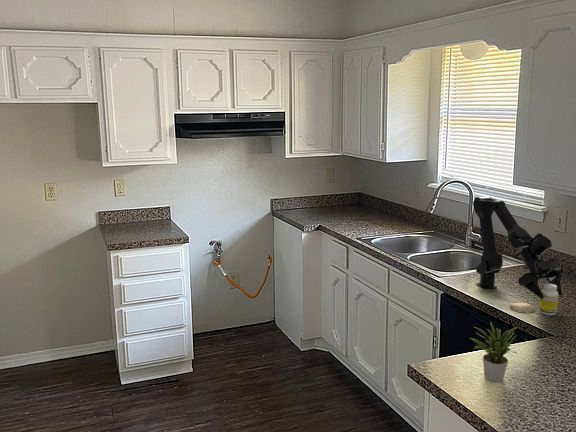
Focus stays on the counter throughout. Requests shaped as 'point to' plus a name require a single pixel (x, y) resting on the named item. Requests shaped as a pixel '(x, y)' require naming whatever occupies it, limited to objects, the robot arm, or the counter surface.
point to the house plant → (495, 354)
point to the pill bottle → (549, 300)
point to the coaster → (522, 307)
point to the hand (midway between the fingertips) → (551, 296)
